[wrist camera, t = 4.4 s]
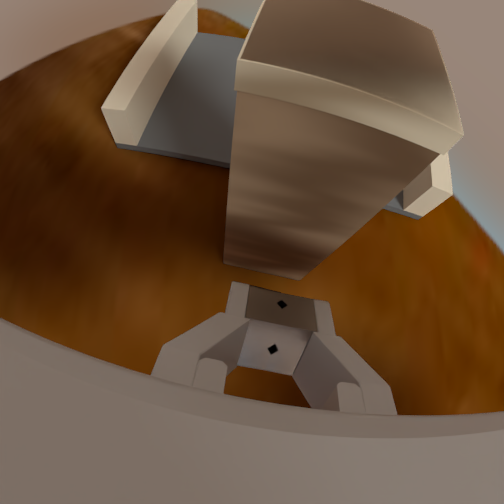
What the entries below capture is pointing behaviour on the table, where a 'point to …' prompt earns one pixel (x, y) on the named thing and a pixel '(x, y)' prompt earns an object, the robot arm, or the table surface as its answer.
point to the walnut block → (328, 127)
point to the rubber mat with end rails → (210, 105)
